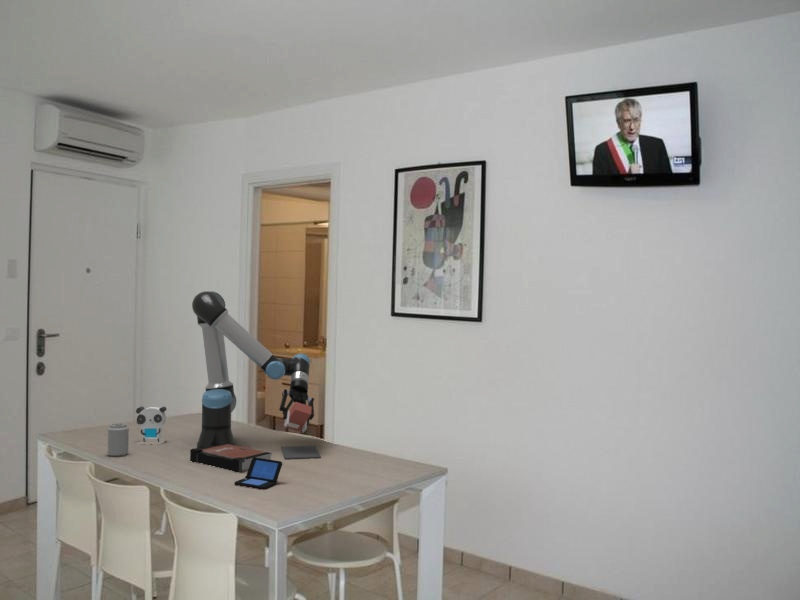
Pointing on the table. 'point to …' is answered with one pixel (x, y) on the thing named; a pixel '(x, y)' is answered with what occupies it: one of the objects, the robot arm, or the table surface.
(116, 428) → the can
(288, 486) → the table surface
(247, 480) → the handheld game console
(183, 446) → the table surface
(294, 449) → the mat
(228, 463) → the book
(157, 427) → the panda figurine
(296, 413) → the box
